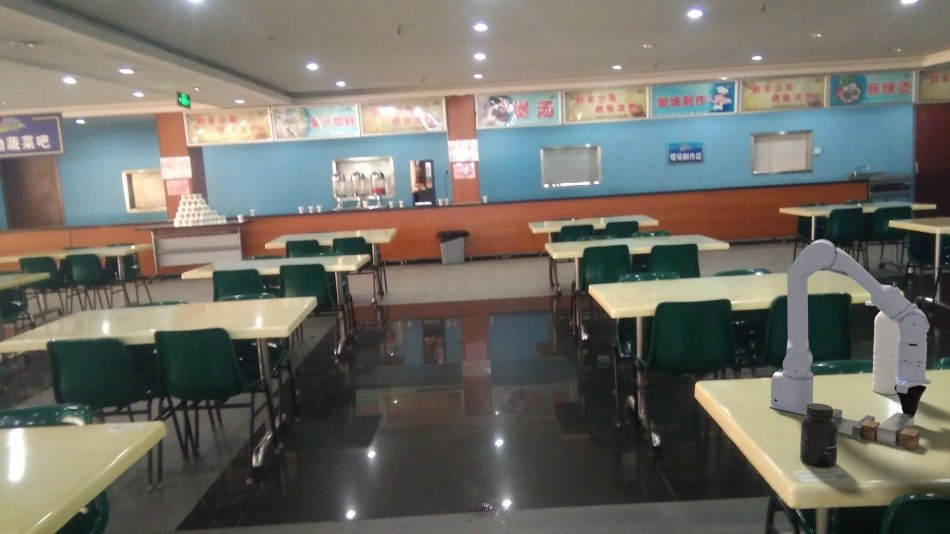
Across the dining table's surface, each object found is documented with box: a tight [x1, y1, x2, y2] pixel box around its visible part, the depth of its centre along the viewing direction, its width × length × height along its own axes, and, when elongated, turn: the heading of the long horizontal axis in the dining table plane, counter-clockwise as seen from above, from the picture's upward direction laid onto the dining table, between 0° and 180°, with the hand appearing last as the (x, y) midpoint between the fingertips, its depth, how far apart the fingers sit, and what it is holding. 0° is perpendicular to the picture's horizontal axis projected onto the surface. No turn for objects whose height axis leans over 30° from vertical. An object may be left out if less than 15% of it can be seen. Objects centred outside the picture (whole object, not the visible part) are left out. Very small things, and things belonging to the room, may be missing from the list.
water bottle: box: [864, 300, 900, 396], centre depth 174 cm, size 9×6×25 cm
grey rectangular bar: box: [876, 412, 916, 446], centre depth 145 cm, size 4×13×4 cm, turn 130°
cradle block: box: [832, 408, 876, 441], centre depth 149 cm, size 9×10×3 cm
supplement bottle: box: [799, 402, 839, 469], centre depth 132 cm, size 7×7×12 cm
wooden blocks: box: [861, 420, 920, 450], centre depth 142 cm, size 10×4×3 cm, turn 42°
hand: (909, 415), depth 152 cm, fingers closed
